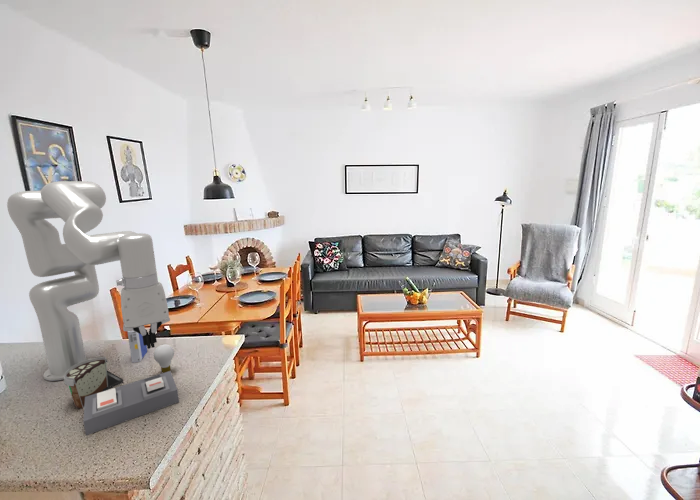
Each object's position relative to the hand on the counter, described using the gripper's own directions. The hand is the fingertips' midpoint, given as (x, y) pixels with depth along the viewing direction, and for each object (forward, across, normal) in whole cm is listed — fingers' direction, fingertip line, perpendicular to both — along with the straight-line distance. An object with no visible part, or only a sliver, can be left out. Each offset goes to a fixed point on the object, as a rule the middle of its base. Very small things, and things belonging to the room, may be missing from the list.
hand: (150, 346), depth 89 cm
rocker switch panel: (+18, -6, +5) cm, 20 cm away
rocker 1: (+13, -11, +3) cm, 17 cm away
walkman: (+18, -2, +36) cm, 40 cm away
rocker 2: (+13, 0, +3) cm, 13 cm away
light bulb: (+18, +4, +18) cm, 26 cm away
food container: (+18, -17, +18) cm, 30 cm away
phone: (+18, -14, +26) cm, 35 cm away
